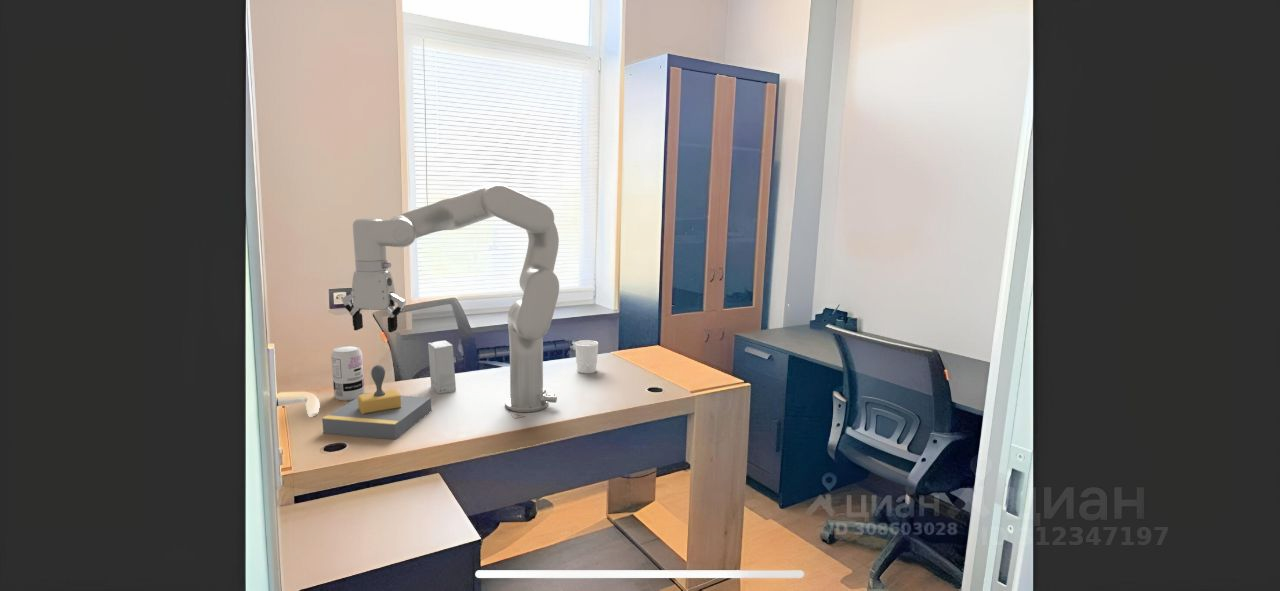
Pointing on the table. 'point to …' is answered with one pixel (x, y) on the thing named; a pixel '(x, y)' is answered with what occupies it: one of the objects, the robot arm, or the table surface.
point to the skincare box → (442, 366)
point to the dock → (377, 419)
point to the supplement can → (347, 372)
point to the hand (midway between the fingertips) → (375, 330)
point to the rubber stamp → (379, 395)
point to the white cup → (586, 356)
